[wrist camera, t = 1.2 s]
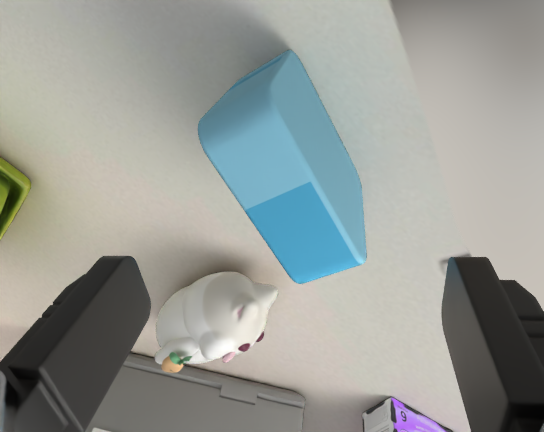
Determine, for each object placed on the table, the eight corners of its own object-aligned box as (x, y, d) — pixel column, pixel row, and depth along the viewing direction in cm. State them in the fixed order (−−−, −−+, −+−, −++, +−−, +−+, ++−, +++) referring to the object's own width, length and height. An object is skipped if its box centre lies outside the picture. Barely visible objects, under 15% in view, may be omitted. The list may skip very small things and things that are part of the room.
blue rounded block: (241, 76, 29) (187, 130, 19) (293, 44, 28) (263, 87, 18) (313, 200, 34) (300, 295, 24) (362, 180, 32) (369, 274, 22)
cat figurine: (143, 396, 38) (250, 364, 30) (113, 320, 39) (207, 268, 31) (209, 354, 46) (307, 319, 38) (182, 292, 47) (272, 244, 39)
